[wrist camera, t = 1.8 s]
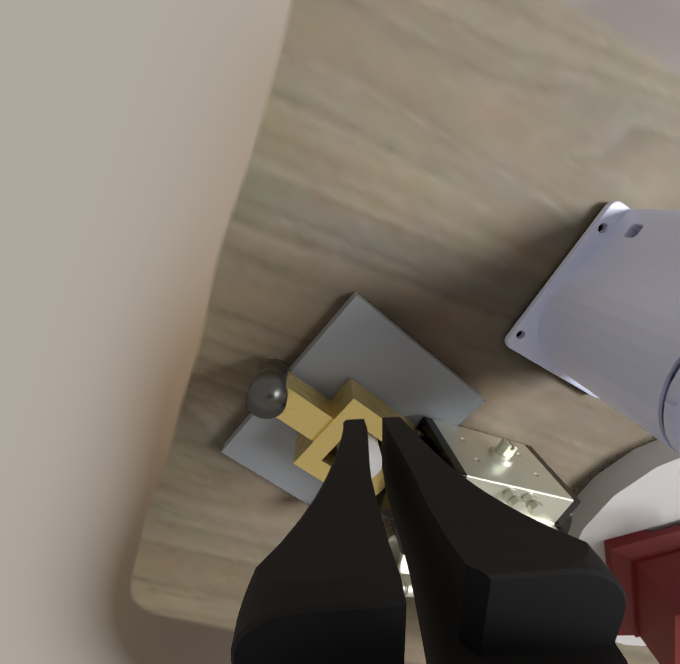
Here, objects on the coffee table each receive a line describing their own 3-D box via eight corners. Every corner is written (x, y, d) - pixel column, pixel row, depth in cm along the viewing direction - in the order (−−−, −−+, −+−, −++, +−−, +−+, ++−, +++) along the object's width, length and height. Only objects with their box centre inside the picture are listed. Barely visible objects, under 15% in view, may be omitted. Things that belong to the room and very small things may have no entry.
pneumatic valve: (332, 532, 26) (412, 394, 22) (465, 552, 29) (554, 437, 25) (346, 621, 21) (453, 463, 17) (505, 632, 24) (623, 504, 20)
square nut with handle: (286, 331, 20) (281, 352, 17) (414, 424, 23) (427, 456, 20) (233, 396, 21) (219, 426, 19) (360, 478, 24) (365, 515, 21)
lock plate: (355, 291, 21) (362, 312, 17) (478, 392, 23) (510, 431, 20) (225, 442, 24) (206, 490, 20) (347, 517, 26) (352, 572, 22)
